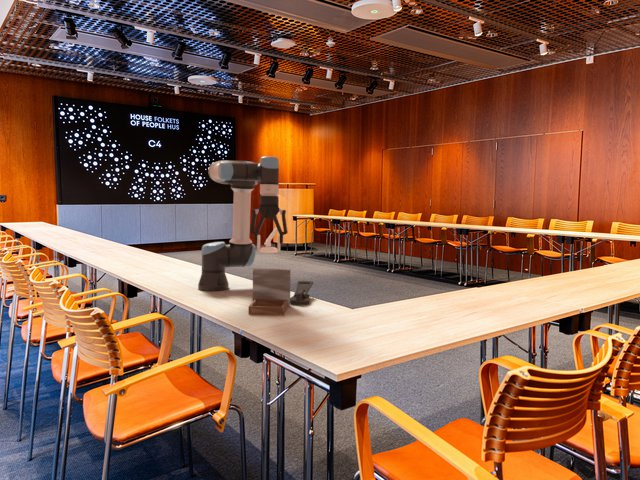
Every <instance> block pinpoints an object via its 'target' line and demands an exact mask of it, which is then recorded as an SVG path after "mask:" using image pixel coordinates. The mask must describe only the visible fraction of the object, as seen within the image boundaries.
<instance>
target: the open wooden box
mask: <svg viewBox="0 0 640 480" xmlns="http://www.w3.org/2000/svg"><path fill="white" fill-rule="evenodd" d="M291 273H292V272H291V269H287V268H285V269H284V268H281V269H280V268H253V269H252V301H251V303H250V304H249V305H248V306H247V307H248V311H247V312H248V315H260V316H261V315H263V316H264V315H265V316H266V315H267V316H284V315H285V313H286V310H287V309H288V308H290V307H291V304H290V298H291V282H292V281H291V279H292V278H291Z"/></svg>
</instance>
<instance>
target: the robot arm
mask: <svg viewBox="0 0 640 480" xmlns="http://www.w3.org/2000/svg"><path fill="white" fill-rule="evenodd" d="M207 171H208V172H207V173H208V176H209V178H210V179H211V180H212V181H214V182H215V183H218V184H222V185H230V189H231V190H232V191H233V207H232V208H233V209H232V210H233V211H232V238H231V239H230V240H229V241H228V243H229V244H226V242H225V241H214V242H208V243H205V244H203V245H202V246H201V275H200V278H199V281H198V285H197V287H198V290H200V291H207V292H209V291H210V292H215V291H217V292H218V291H219V292H220V291H224V290H228V289H229V287H230V286H229V285H230V284H229V281H228V278H227V274H226V268H245V267H251V266H252V265H253V264H254V262H255V259H256V251H257V252H259V251H260V249H261V235H260V232H261V229H262V226H263V224H264V221H265V220H266V219H273V221H274V224H275V228H277V229H278V231H277V233H278V235H277V250H278V252H277V253H279V252H280V253H281V244H283V243H284V236H285V235H287V234H288V227H287V219H286V217H287V216H286V214H287V209H281V208H280V207H279V204H280V203H279V190H280V186H279V182H280V180H279V179H280V177H279V176H280V160H279V157H277V156H261V157H260V160H259V162H254V161H247V160H228V159H227V160H226V159H225V160H218V161H215V162H213V163H211V164H210V165H209V167H208V170H207ZM258 184H259V194H260V197H259V207H258V208H257V209H255V208H254V209H252V210H251V206H252V205H251V203H252V202H251V199H252V191H254V190H255V186H257V185H258ZM259 213H260V214H261V217H260V219H259V222H258V224H257V223H256V222H257V217H258V216H257V215H258V214H259ZM278 213H279V214H280V215H281V221H282V227H281V225H280V222H279V220H278V216H277V215H278ZM251 214H252V219H251ZM256 224H257V227H256ZM282 229H283V230H282ZM250 234H252V235H254V243H255V244H256V245H257V247H256V246H255V244H253V241H252V239H251V238H250ZM256 248H257V250H256Z"/></svg>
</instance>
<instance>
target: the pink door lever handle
mask: <svg viewBox="0 0 640 480" xmlns="http://www.w3.org/2000/svg"><path fill="white" fill-rule="evenodd" d="M277 233H278V229H277V227H275V228H273V230H272V232H271V233H270V234H269V235H268V237H267V238H266V240H265V242H264V244H263V245H265V246H264V247H263V246H262V247H260V251H258V252H259V253H262V254H263V253H264V254H265V253H266V254H272V253H273V254H275V253H279V252H278V247H273V246H272V243H271V242H272V240H273V238H274V237H275V236H276V234H277Z"/></svg>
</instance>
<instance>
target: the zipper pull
mask: <svg viewBox="0 0 640 480" xmlns="http://www.w3.org/2000/svg"><path fill="white" fill-rule="evenodd" d="M313 284H314V281H311V280H297V282H296V287H295V292H294V294H293V295H292V296H290V306H309V305H310V298H311V297H310V294H308V293H309V291H310V290H311V288H312V286H313ZM309 297H310V298H309Z"/></svg>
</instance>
